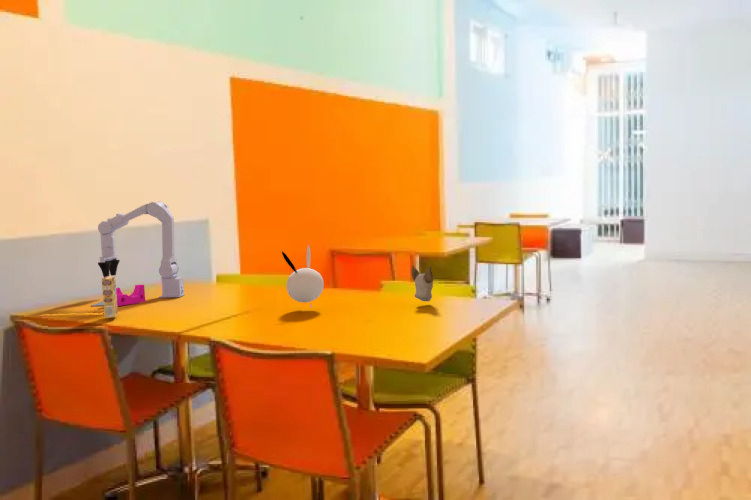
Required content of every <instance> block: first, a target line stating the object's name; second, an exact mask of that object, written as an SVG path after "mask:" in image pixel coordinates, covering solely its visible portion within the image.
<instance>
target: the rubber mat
mask: <svg viewBox="0 0 751 500" xmlns="http://www.w3.org/2000/svg"><path fill="white" fill-rule="evenodd" d="M90 307H104V302H103V300H102V301H99V302H97V303H94V304H91V305H90Z"/></svg>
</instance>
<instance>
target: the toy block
mask: <svg viewBox="0 0 751 500" xmlns="http://www.w3.org/2000/svg"><path fill="white" fill-rule="evenodd" d="M116 294H117V307H120V306H126V305H127V306H128V305H133V304H140V303H144V302H146V290H145V284H134V289H133V292H131V294H129V295H128V294H127V293H126V294H125V293H123V292H122V291H121V287H116Z"/></svg>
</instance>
